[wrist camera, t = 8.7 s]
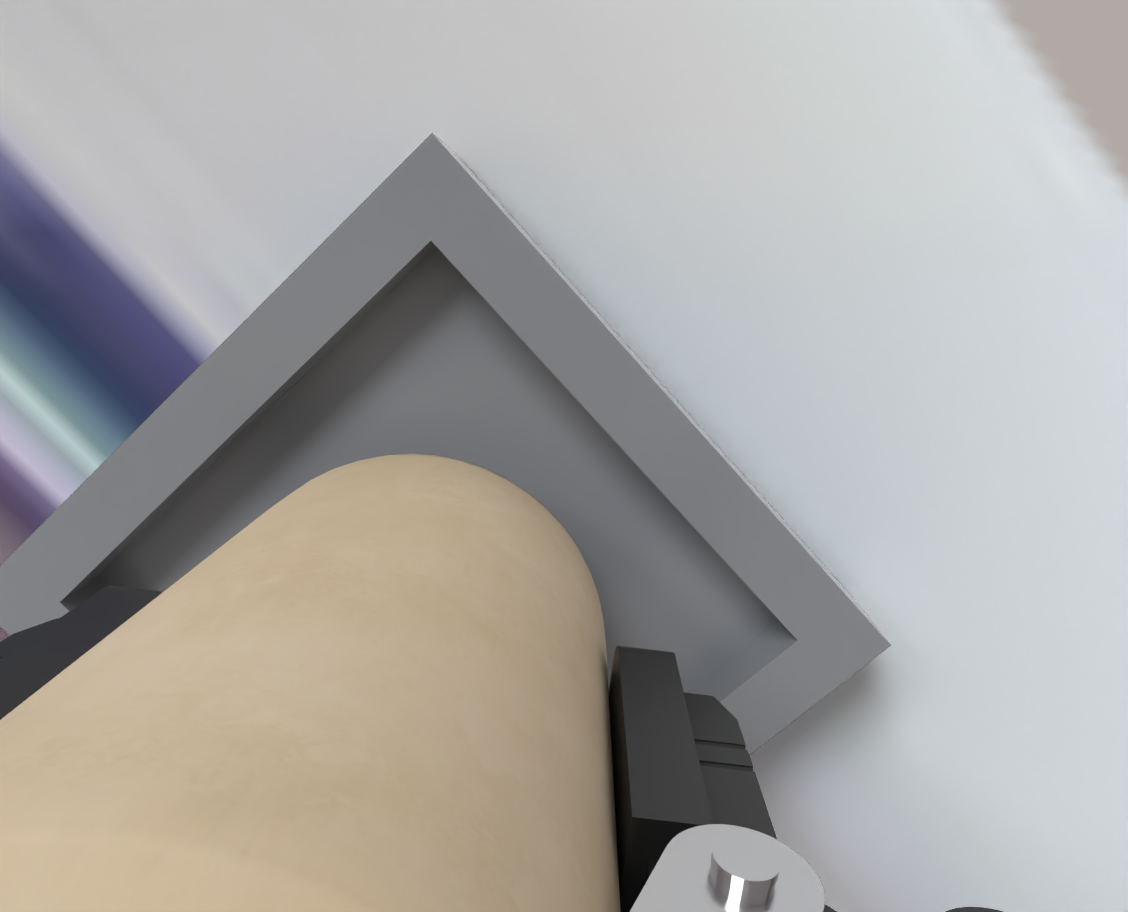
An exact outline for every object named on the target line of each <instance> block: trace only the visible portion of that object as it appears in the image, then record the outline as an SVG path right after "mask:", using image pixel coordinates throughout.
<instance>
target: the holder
mask: <svg viewBox="0 0 1128 912" xmlns="http://www.w3.org/2000/svg"><path fill="white" fill-rule="evenodd" d="M396 454H426V455H438V456H443V457H448V458H453V459H458V460H463V461H466V462H469V463H472V464H475V465H477V466H480V467H483V468H486V469H488V470H490V471H492V472H494V473H496V474H499V475H501V476H503V477H505V478H507V479H509V480H510V481H512V482H513V483H515V484H516V485H518V486H519V487H521V488H522V489H524V490H525V491H527V492H528V493H530V494H531V495H532V496H533V497H534V498H536V499H537V500H538V501H539V502H540V503H541V504H543V505H544V506H545V507H546V508H547V509H548V510H549V511H550V512H551V513H552V514H553V515H554V517H555V518H556V519H557V520H558V521H559V522H560V523H561V524H562V525H563V527H564V528H565V529H566V531H567V532H568V534H569V535H570V537H571V538H572V540H573V541H574V543H575V544H576V545H577V547H578V549H579V551H580V553H581V555H582V557H583V559H584V560H585V562H586V564H587V566H588V568H589V570H590V572H591V575H592V578H593V581H594V584H595V586H596V589H597V592H598V595H599V600H600V605H601V610H602V615H603V621H604V630H605V639H606V655H607V673H608V691H609V686H610V678H611V671H612V664H613V658H614V653H615V649H616V646H624V647H633V648H641V649H650V650H658V651H667V652H674V654H675V657H676V661H677V666H678V670H679V674H680V679H681V683H682V688H683V692H684V693H692V694H701V695H709V696H714V697H715V698H716V699H717V700H718V701H719V702H720V703H721V704H722V705H723V706H724V707H725V708H726V709H727V710H728V711H729V712H730V713H731V714H732V715H733V716H734V717H735V718H736V719H737V720H738V723H739V726H740V729H741V732H742V735H743V738H744V741H745V744H746V747H745V750H748V753H749V755H750V754H752V753H753V752H754V751H756V750H757V749H758V748H759V747H761V746H762V745H763V744H765V743H766V742H767V741H768V740H770V739H771V738H772V737H774V736H775V735H776V734H777V733H779V732H780V731H781V730H783V729H784V728H785V727H787V726H788V725H789V724H790V723H792V722H793V721H794V720H796V719H797V718H798V717H799V716H801V715H802V714H803V713H805V712H806V711H807V710H808V709H810V708H811V707H812V706H814V705H815V704H816V703H817V702H819V701H820V700H821V699H823V698H824V697H825V696H826V695H828V694H829V693H830V692H832V691H833V690H834V689H835V688H837V687H838V686H839V685H841V684H842V683H843V682H844V681H846V680H847V679H848V678H850V677H851V676H852V675H853V674H855V673H856V672H857V671H859V670H860V669H861V668H862V667H864V666H865V665H866V664H868V663H869V662H870V661H872V660H873V659H874V658H875V657H877V656H878V655H879V654H881V653H882V652H883V651H884V650H886V649H887V648H888V647H890V646H891V645H890V643H889V642H888V641H887V640H886V638H885V637H884V636H883V635H882V633H881V632H880V631H879V630H878V628H877V627H876V626H875V625H874V623H873V622H872V621H871V620H870V618H869V617H868V616H867V615H866V613H865V612H864V611H863V610H862V608H861V607H860V606H859V605H858V603H857V602H856V601H855V599H854V598H853V597H852V596H851V595H850V594H849V592H848V591H847V590H846V589H845V588H844V587H843V586H842V585H841V584H840V582H839V581H838V580H837V579H836V578H835V577H834V576H833V575H832V573H831V572H830V571H829V570H828V569H827V568H826V567H825V566H824V565H823V563H822V562H821V561H820V560H819V559H818V558H817V557H816V556H815V554H814V553H813V552H812V551H811V550H810V549H809V548H808V547H807V546H806V544H805V543H804V542H803V541H802V540H801V539H800V538H799V537H798V535H797V534H796V533H795V532H794V531H793V530H792V529H791V528H790V527H789V525H788V524H787V523H786V522H785V521H784V520H783V519H782V518H781V516H780V515H779V514H778V513H777V512H776V511H775V510H774V509H773V508H772V506H771V505H770V504H769V503H768V502H767V501H766V500H765V499H764V497H763V496H762V495H761V494H760V493H759V492H758V491H757V490H756V489H755V487H754V486H753V485H752V484H751V483H750V482H749V481H748V480H747V478H746V477H745V476H744V475H743V474H742V473H741V472H740V471H739V470H738V468H737V467H736V466H735V465H734V464H733V463H732V462H731V461H730V459H729V458H728V457H727V456H726V455H725V454H724V453H723V452H722V451H721V449H720V448H719V447H718V446H717V445H716V444H715V443H714V442H713V440H712V439H711V438H710V437H709V436H708V435H707V434H706V433H705V432H704V430H703V429H702V428H701V427H700V426H699V425H698V424H697V423H696V421H695V420H694V419H693V418H692V417H691V416H690V415H689V414H688V413H687V411H686V410H685V409H684V408H683V407H682V406H681V405H680V404H679V402H678V401H677V400H676V399H675V398H674V397H673V396H672V395H671V394H670V392H669V391H668V390H667V389H666V388H665V387H664V386H663V385H662V383H661V382H660V381H659V380H658V379H657V378H656V377H655V376H654V375H653V373H652V372H651V371H650V370H649V369H648V368H647V367H646V366H645V364H644V363H643V362H642V361H641V360H640V359H639V358H638V357H637V356H636V354H635V353H634V352H633V351H632V350H631V349H630V348H629V347H628V345H627V344H626V343H625V342H624V341H623V340H622V339H621V338H620V337H619V335H618V334H617V333H616V332H615V331H614V330H613V329H612V328H611V326H610V325H609V324H608V323H607V322H606V321H605V320H604V319H603V318H602V316H601V315H600V314H599V313H598V312H597V311H596V310H595V309H594V307H593V306H592V305H591V304H590V303H589V302H588V301H587V300H586V299H585V297H584V296H583V295H582V294H581V293H580V292H579V291H578V290H577V288H576V287H575V286H574V285H573V284H572V283H571V282H570V281H569V280H568V278H567V277H566V276H565V275H564V274H563V273H562V272H561V271H560V269H559V268H558V267H557V266H556V265H555V264H554V263H553V262H552V261H551V259H550V258H549V257H548V256H547V255H546V254H545V253H544V252H543V250H542V249H541V248H540V247H539V246H538V245H537V244H536V243H535V242H534V240H533V239H532V238H531V237H530V236H529V235H528V234H527V233H526V231H525V230H524V229H523V228H522V227H521V226H520V225H519V224H518V223H517V221H516V220H515V219H514V218H513V217H512V216H511V215H510V214H509V212H508V211H507V210H506V209H505V208H504V207H503V206H502V205H501V204H500V202H499V201H498V200H497V199H496V198H495V197H494V196H493V195H492V194H491V192H490V191H489V190H488V189H487V188H486V187H485V186H484V185H483V183H482V182H481V181H480V180H479V179H478V178H477V177H476V176H475V175H474V173H473V172H472V171H471V170H470V169H469V168H468V167H467V166H466V164H465V163H464V162H463V161H462V160H461V159H460V158H459V157H458V156H457V154H456V153H455V152H454V151H453V150H452V149H450V148H449V147H448V146H447V145H446V144H444V143H443V142H442V141H441V140H440V139H439V138H437V137H436V136H435V135H434V134H433V133H432V134H431V135H430V136H429V137H428V138H427V139H426V140H425V141H424V142H423V143H422V144H421V145H420V146H419V147H418V148H417V149H416V150H415V151H414V152H413V153H412V154H411V155H410V156H409V157H408V158H407V159H406V160H405V161H404V162H403V163H402V164H401V165H400V166H399V167H398V168H397V169H396V170H395V171H394V172H393V173H392V174H391V175H390V176H389V177H388V178H387V179H386V180H385V181H384V182H383V183H382V184H381V185H380V186H379V187H378V188H377V189H376V190H375V191H374V192H373V193H372V194H371V195H370V196H369V197H368V198H367V199H366V200H365V201H364V202H363V203H362V204H361V205H360V206H359V207H358V208H357V209H356V210H355V211H354V212H353V213H352V214H351V215H350V216H349V217H348V218H347V219H346V220H345V221H344V222H343V223H342V224H341V225H340V226H339V227H338V228H337V229H336V230H335V231H334V232H333V233H332V234H331V235H330V236H329V237H328V238H327V239H326V240H325V241H324V242H323V243H322V244H321V245H320V246H319V247H318V248H317V249H316V250H315V251H314V252H313V253H312V254H311V255H310V256H309V257H308V258H307V259H306V260H305V261H304V262H303V263H302V264H301V265H300V266H299V267H298V268H297V269H296V270H295V271H294V272H293V273H292V274H291V275H290V276H289V277H288V278H287V279H286V280H285V281H284V282H283V283H282V284H281V285H280V286H279V287H278V288H277V289H276V290H275V291H274V292H273V293H272V294H271V295H270V296H269V297H268V298H267V299H266V300H265V301H264V302H263V303H262V304H261V305H260V306H259V307H258V308H257V309H256V310H255V311H254V312H253V313H252V314H251V315H250V316H249V317H248V318H247V319H246V320H245V321H244V322H243V323H242V324H241V325H240V326H239V327H238V328H237V329H236V330H235V331H234V332H233V333H232V334H231V335H230V336H229V337H228V338H227V339H226V340H225V341H224V342H223V343H222V344H221V345H220V346H219V347H218V348H217V349H216V350H215V351H214V352H213V353H212V354H211V355H210V356H209V357H208V358H207V359H206V360H205V361H204V362H203V363H202V364H201V365H200V366H199V367H198V368H197V369H196V370H195V371H194V372H193V373H192V374H191V375H190V376H189V377H188V378H187V379H186V380H185V381H184V382H183V383H182V384H181V385H180V386H179V387H178V388H177V389H176V390H175V391H174V392H173V393H172V394H171V395H170V396H169V397H168V398H167V399H166V400H165V401H164V402H163V403H162V404H161V405H160V406H159V407H158V408H157V409H156V410H155V411H154V412H153V413H152V414H151V415H150V416H149V417H148V418H147V419H146V420H145V421H144V422H143V423H142V424H141V425H140V426H139V427H138V428H137V429H136V430H135V431H134V432H133V433H132V434H131V435H130V436H129V437H128V438H127V439H126V440H125V441H124V442H123V443H122V444H121V445H120V446H119V447H118V448H117V449H116V450H115V451H114V452H113V453H112V454H111V455H110V456H109V457H108V458H107V459H106V460H105V461H104V462H103V463H102V464H101V465H100V466H99V467H98V468H97V469H96V470H95V471H94V472H93V473H92V474H91V475H90V476H89V477H88V478H87V479H86V480H85V481H84V482H83V483H82V484H81V485H80V486H79V487H78V488H77V489H76V490H75V491H74V492H73V493H72V494H71V495H70V497H69V498H68V499H67V500H66V501H65V502H64V503H63V504H62V505H61V506H60V507H59V508H58V509H57V510H56V511H55V512H54V513H53V514H52V515H51V516H50V517H49V518H48V519H47V520H46V521H45V522H44V523H43V524H42V525H41V526H40V527H39V528H38V529H37V530H36V531H35V532H34V533H33V534H32V535H31V536H30V537H29V538H28V539H27V540H26V541H25V542H24V543H23V544H22V545H21V546H20V547H19V548H18V549H17V550H16V551H15V552H14V553H13V554H12V555H11V556H10V557H9V558H8V559H7V560H6V561H5V562H4V563H3V564H2V565H1V566H0V626H1V627H2V628H3V629H4V630H5V631H6V632H7V633H8V634H9V635H12V634H14V633H17V632H20V631H22V630H25V629H28V628H31V627H34V626H36V625H39V624H42V623H45V622H48V621H50V620H53V619H56V618H58V619H59V618H61V617H62V616H64V615H65V614H66V613H68V612H69V611H71V610H72V609H74V608H75V607H77V606H78V605H80V604H81V603H83V602H84V601H85V600H87V599H88V598H90V597H91V596H93V595H94V594H96V593H97V592H99V591H100V590H102V589H103V588H105V587H107V586H118V587H127V588H135V589H144V590H152V591H161V592H164V591H165V590H166V589H168V588H169V587H170V586H172V585H173V584H174V583H175V582H177V581H178V580H179V579H180V578H182V577H183V576H184V575H186V574H187V573H188V572H189V571H191V570H192V569H193V568H195V567H196V566H197V565H198V564H200V563H201V562H202V561H203V560H205V559H206V558H207V557H209V556H210V555H211V554H212V553H214V552H215V551H216V550H217V549H219V548H220V547H221V546H223V545H224V544H225V543H226V542H228V541H229V540H230V539H231V538H233V537H234V536H235V535H237V534H238V533H239V532H240V531H242V530H243V529H244V528H245V527H247V526H248V525H249V524H251V523H252V522H253V521H254V520H256V519H257V518H258V517H259V516H261V515H262V514H263V513H265V512H266V511H267V510H268V509H270V508H271V507H272V506H274V505H275V504H277V503H278V502H279V501H281V500H282V499H284V498H285V497H287V496H288V495H289V494H291V493H292V492H294V491H295V490H297V489H298V488H300V487H301V486H303V485H304V484H306V483H307V482H309V481H310V480H312V479H314V478H316V477H318V476H320V475H322V474H324V473H326V472H328V471H330V470H332V469H335V468H338V467H341V466H344V465H347V464H350V463H353V462H356V461H360V460H364V459H369V458H375V457H380V456H385V455H396Z"/></svg>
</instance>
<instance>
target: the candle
mask: <svg viewBox="0 0 1128 912" xmlns="http://www.w3.org/2000/svg"><path fill="white" fill-rule="evenodd" d="M0 912H621V909H620V891H619V873H618V855H617V837H616V818H615V800H614V782H613V764H612V746H611V727H610V709H609V691H608V673H607V655H606V639H605V630H604V621H603V615H602V610H601V605H600V600H599V595H598V592H597V589H596V586H595V584H594V581H593V578H592V575H591V572H590V570H589V568H588V566H587V564H586V562H585V560H584V559H583V557H582V555H581V553H580V551H579V549H578V547H577V545H576V544H575V543H574V541H573V540H572V538H571V537H570V535H569V534H568V532H567V531H566V529H565V528H564V527H563V525H562V524H561V523H560V522H559V521H558V520H557V519H556V518H555V517H554V515H553V514H552V513H551V512H550V511H549V510H548V509H547V508H546V507H545V506H544V505H543V504H541V503H540V502H539V501H538V500H537V499H536V498H534V497H533V496H532V495H531V494H530V493H528V492H527V491H525V490H524V489H522V488H521V487H519V486H518V485H516V484H515V483H513V482H512V481H510V480H509V479H507V478H505V477H503V476H501V475H499V474H496V473H494V472H492V471H490V470H488V469H486V468H483V467H480V466H477V465H475V464H472V463H469V462H466V461H463V460H458V459H453V458H448V457H443V456H438V455H426V454H396V455H385V456H380V457H375V458H369V459H364V460H360V461H356V462H353V463H350V464H347V465H344V466H341V467H338V468H335V469H332V470H330V471H328V472H326V473H324V474H322V475H320V476H318V477H316V478H314V479H312V480H310V481H309V482H307V483H306V484H304V485H303V486H301V487H300V488H298V489H297V490H295V491H294V492H292V493H291V494H289V495H288V496H287V497H285V498H284V499H282V500H281V501H279V502H278V503H277V504H275V505H274V506H272V507H271V508H270V509H268V510H267V511H266V512H265V513H263V514H262V515H261V516H259V517H258V518H257V519H256V520H254V521H253V522H252V523H251V524H249V525H248V526H247V527H245V528H244V529H243V530H242V531H240V532H239V533H238V534H237V535H235V536H234V537H233V538H231V539H230V540H229V541H228V542H226V543H225V544H224V545H223V546H221V547H220V548H219V549H217V550H216V551H215V552H214V553H212V554H211V555H210V556H209V557H207V558H206V559H205V560H203V561H202V562H201V563H200V564H198V565H197V566H196V567H195V568H193V569H192V570H191V571H189V572H188V573H187V574H186V575H184V576H183V577H182V578H180V579H179V580H178V581H177V582H175V583H174V584H173V585H172V586H170V587H169V588H168V589H166V590H165V591H164V592H163V593H161V594H160V595H159V596H158V597H156V598H155V599H154V600H152V601H151V602H150V603H149V604H147V605H146V606H145V607H144V608H142V609H141V610H140V611H138V612H137V613H136V614H135V615H133V616H132V617H131V618H130V619H128V620H127V621H126V622H124V623H123V624H122V625H121V626H119V627H118V628H117V629H116V630H114V631H113V632H112V633H110V634H109V635H108V636H107V637H105V638H104V639H103V640H102V641H100V642H99V643H98V644H96V645H95V646H94V647H93V648H91V649H90V650H89V651H87V652H86V653H85V654H84V655H82V656H81V657H80V658H79V659H77V660H76V661H75V662H73V663H72V664H71V665H70V666H68V667H67V668H66V669H65V670H63V671H62V672H61V673H59V674H58V675H57V676H56V677H54V678H53V679H52V680H51V681H49V682H48V683H47V684H45V685H44V686H43V687H42V688H40V689H39V690H38V691H37V692H35V693H34V694H33V695H31V696H30V697H29V698H28V699H26V700H25V701H24V702H23V703H21V704H20V705H19V706H17V707H16V708H15V709H14V710H12V711H11V712H10V713H9V714H7V715H6V716H5V717H3V718H2V719H1V720H0Z"/></svg>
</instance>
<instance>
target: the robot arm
mask: <svg viewBox="0 0 1128 912" xmlns="http://www.w3.org/2000/svg"><path fill="white" fill-rule="evenodd" d="M161 593H163V592H161V591H152V590H144V589H135V588H127V587H118V586H107V587H105V588H103V589H102V590H100V591H99V592H97V593H96V594H94V595H93V596H91V597H90V598H88V599H87V600H85V601H84V602H83V603H81V604H80V605H78V606H77V607H75V608H74V609H72V610H71V611H69V612H68V613H66V614H65V615H64V616H62V617H61V618H59V619H58V618H56V619H53V620H50V621H48V622H45V623H42V624H39V625H36V626H34V627H31V628H28V629H25V630H22V631H20V632H17V633H14V634H12V635H10V636H9V637H7V638H6V639H4V640H3V641H1V642H0V720H1V719H2V718H3V717H5V716H6V715H7V714H9V713H10V712H11V711H12V710H14V709H15V708H16V707H17V706H19V705H20V704H21V703H23V702H24V701H25V700H26V699H28V698H29V697H30V696H31V695H33V694H34V693H35V692H37V691H38V690H39V689H40V688H42V687H43V686H44V685H45V684H47V683H48V682H49V681H51V680H52V679H53V678H54V677H56V676H57V675H58V674H59V673H61V672H62V671H63V670H65V669H66V668H67V667H68V666H70V665H71V664H72V663H73V662H75V661H76V660H77V659H79V658H80V657H81V656H82V655H84V654H85V653H86V652H87V651H89V650H90V649H91V648H93V647H94V646H95V645H96V644H98V643H99V642H100V641H102V640H103V639H104V638H105V637H107V636H108V635H109V634H110V633H112V632H113V631H114V630H116V629H117V628H118V627H119V626H121V625H122V624H123V623H124V622H126V621H127V620H128V619H130V618H131V617H132V616H133V615H135V614H136V613H137V612H138V611H140V610H141V609H142V608H144V607H145V606H146V605H147V604H149V603H150V602H151V601H152V600H154V599H155V598H156V597H158V596H159V595H160V594H161ZM609 709H610V727H611V746H612V764H613V782H614V800H615V818H616V837H617V855H618V873H619V891H620V909H621V912H836V911H835V910H833V909H831V908H830V907H828V906H827V905H825V894H824V888H823V885H822V883H821V881H820V878H819V877H818V875H817V874H816V872H815V871H814V869H813V868H812V867H811V866H810V864H809V863H808V862H807V861H806V860H805V859H804V858H803V857H802V856H800V855H799V854H798V853H797V852H796V851H794V850H793V849H792V848H790V847H789V846H787V845H786V844H784V843H782V842H780V841H779V840H777V838H776V835H775V832H774V829H773V826H772V823H771V820H770V817H769V814H768V811H767V808H766V805H765V802H764V799H763V796H762V793H761V790H760V787H759V784H758V781H757V778H756V775H755V772H753V765H752V762H751V759H750V756H749V753H748V750H745V747H746V744H745V741H744V738H743V735H742V732H741V729H740V726H739V723H738V720H737V719H736V718H735V717H734V716H733V715H732V714H731V713H730V712H729V711H728V710H727V709H726V708H725V707H724V706H723V705H722V704H721V703H720V702H719V701H718V700H717V699H716V698H715V697H714V696H709V695H701V694H692V693H684V692H683V688H682V683H681V679H680V674H679V670H678V666H677V661H676V657H675V654H674V652H667V651H658V650H650V649H641V648H633V647H624V646H616V649H615V653H614V658H613V664H612V671H611V678H610V686H609ZM946 912H1002V911H999V910H994V909H988V908H981V907H963V908H955V909H952V910H948V911H946Z"/></svg>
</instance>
